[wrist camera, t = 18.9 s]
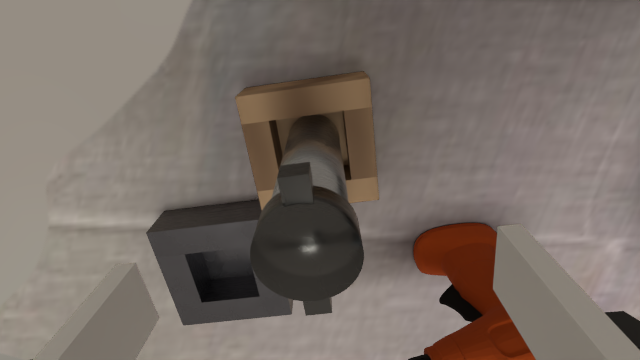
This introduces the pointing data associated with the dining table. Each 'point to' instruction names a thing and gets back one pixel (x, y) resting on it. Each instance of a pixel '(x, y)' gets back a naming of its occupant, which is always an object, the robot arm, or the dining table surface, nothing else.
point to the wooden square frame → (303, 100)
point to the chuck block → (213, 263)
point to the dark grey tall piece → (309, 221)
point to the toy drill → (469, 294)
